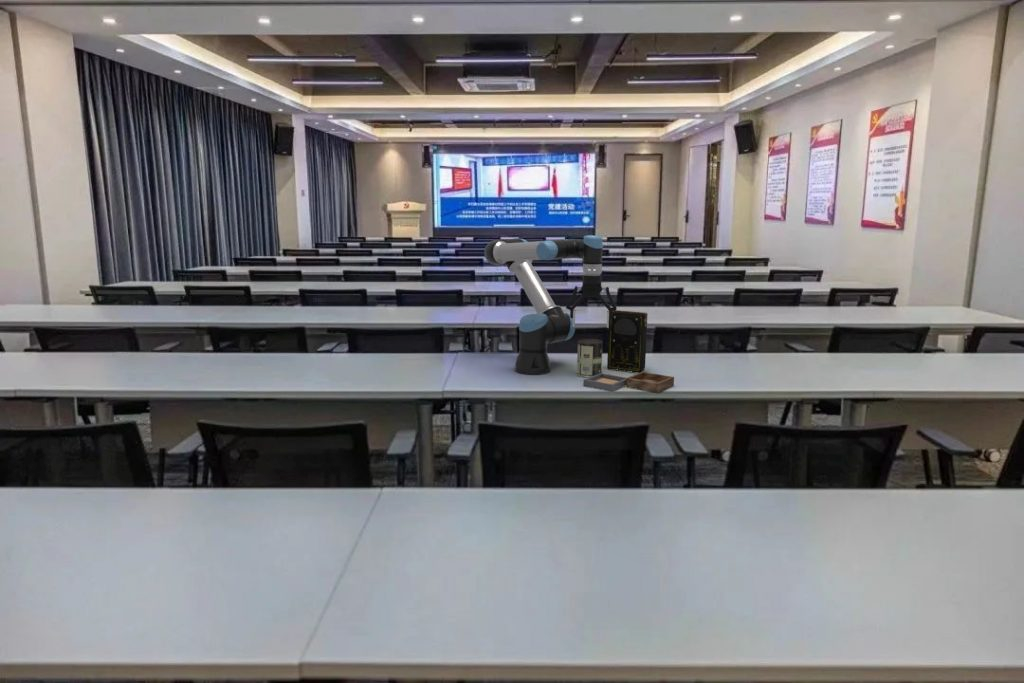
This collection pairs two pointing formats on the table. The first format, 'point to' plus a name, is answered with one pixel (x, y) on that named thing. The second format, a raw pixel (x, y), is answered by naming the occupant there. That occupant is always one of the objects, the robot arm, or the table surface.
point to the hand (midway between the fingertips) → (590, 326)
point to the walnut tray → (650, 382)
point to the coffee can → (589, 357)
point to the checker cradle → (605, 382)
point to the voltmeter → (627, 341)
